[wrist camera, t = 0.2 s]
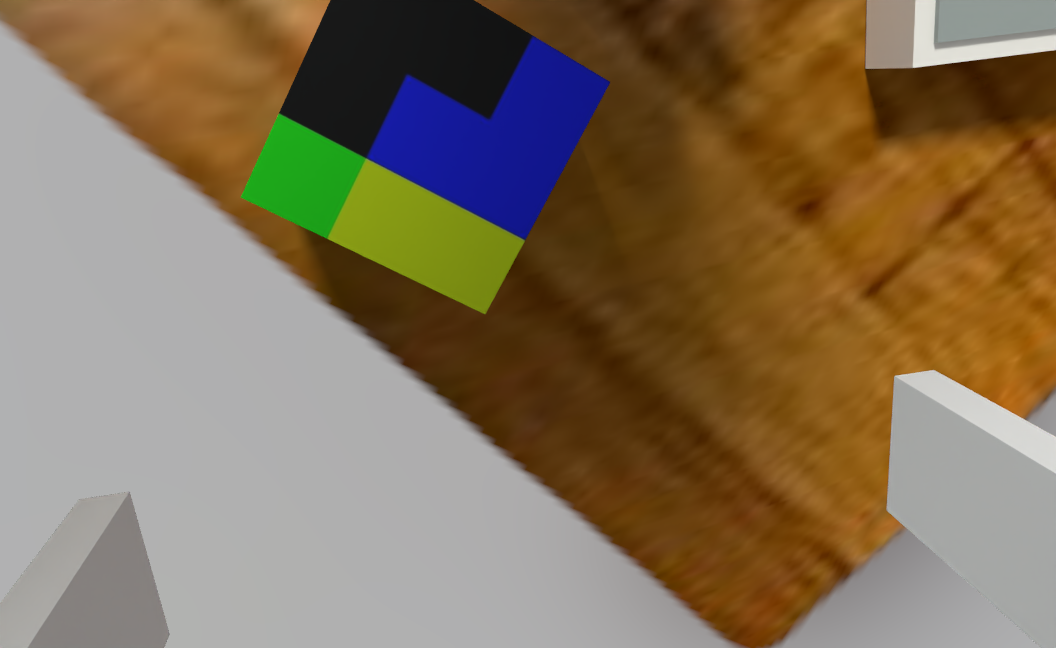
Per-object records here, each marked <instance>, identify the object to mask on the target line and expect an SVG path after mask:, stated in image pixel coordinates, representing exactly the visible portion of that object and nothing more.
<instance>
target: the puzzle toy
mask: <svg viewBox="0 0 1056 648" xmlns="http://www.w3.org/2000/svg"><path fill="white" fill-rule="evenodd" d="M609 84H610V82H609V81H608V80H606V79H604V78H603V77H601V76H599V75H598V74H596V73H594V72H593V71H591V70H589V69H588V68H586V67H584V66H583V65H581V64H579V63H578V62H576V61H574V60H573V59H571V58H569V57H568V56H566V55H564V54H563V53H561V52H559V51H558V50H556V49H554V48H553V47H551V46H549V45H548V44H546V43H544V42H543V41H541V40H539V39H537V38H536V37H534V36H532V35H531V34H529V33H527V32H526V31H524V30H522V29H521V28H519V27H517V26H516V25H514V24H512V23H511V22H509V21H507V20H506V19H504V18H502V17H501V16H499V15H497V14H496V13H494V12H492V11H491V10H489V9H487V8H486V7H484V6H482V5H481V4H479V3H477V2H476V1H474V0H330V3H329V5H328V7H327V9H326V11H325V14H324V16H323V18H322V20H321V22H320V25H319V27H318V29H317V31H316V33H315V36H314V38H313V40H312V42H311V44H310V46H309V49H308V51H307V53H306V55H305V57H304V60H303V62H302V64H301V66H300V68H299V71H298V73H297V75H296V77H295V79H294V82H293V84H292V86H291V88H290V90H289V93H288V95H287V97H286V99H285V101H284V104H283V106H282V108H281V110H280V112H279V115H278V117H277V119H276V121H275V123H274V126H273V128H272V130H271V132H270V134H269V136H268V139H267V141H266V143H265V145H264V147H263V150H262V152H261V154H260V156H259V158H258V161H257V163H256V165H255V167H254V169H253V172H252V174H251V176H250V178H249V180H248V183H247V185H246V187H245V189H244V191H243V194H242V196H241V198H243V199H245V200H247V201H249V202H251V203H253V204H256V205H258V206H260V207H262V208H264V209H266V210H268V211H270V212H272V213H274V214H276V215H279V216H281V217H283V218H285V219H287V220H289V221H291V222H293V223H295V224H297V225H299V226H302V227H304V228H306V229H308V230H310V231H312V232H314V233H316V234H318V235H320V236H322V237H324V238H327V239H329V240H331V241H333V242H335V243H337V244H339V245H341V246H343V247H345V248H347V249H350V250H352V251H354V252H356V253H358V254H360V255H362V256H364V257H366V258H368V259H370V260H372V261H375V262H377V263H379V264H381V265H383V266H385V267H387V268H389V269H391V270H393V271H395V272H398V273H400V274H402V275H404V276H406V277H408V278H410V279H412V280H414V281H416V282H418V283H421V284H423V285H425V286H427V287H429V288H431V289H433V290H435V291H437V292H439V293H441V294H443V295H446V296H448V297H450V298H452V299H454V300H456V301H458V302H460V303H462V304H464V305H466V306H469V307H471V308H473V309H475V310H477V311H479V312H481V313H483V314H486V312H487V310H488V308H489V306H490V305H491V303H492V301H493V299H494V297H495V295H496V293H497V292H498V290H499V288H500V286H501V284H502V282H503V280H504V279H505V277H506V275H507V273H508V271H509V269H510V267H511V266H512V264H513V262H514V260H515V258H516V256H517V254H518V253H519V251H520V249H521V247H522V245H523V243H524V241H525V240H526V238H527V236H528V234H529V232H530V230H531V228H532V227H533V225H534V223H535V221H536V219H537V217H538V215H539V214H540V212H541V210H542V208H543V206H544V204H545V202H546V201H547V199H548V197H549V195H550V193H551V191H552V190H553V188H554V186H555V184H556V182H557V180H558V178H559V177H560V175H561V173H562V171H563V169H564V167H565V165H566V164H567V162H568V160H569V158H570V156H571V154H572V152H573V151H574V149H575V147H576V145H577V143H578V141H579V139H580V138H581V136H582V134H583V132H584V130H585V128H586V126H587V125H588V123H589V121H590V119H591V117H592V115H593V113H594V112H595V110H596V108H597V106H598V104H599V102H600V100H601V99H602V97H603V95H604V93H605V91H606V89H607V87H608V86H609Z"/></svg>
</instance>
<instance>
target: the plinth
mask: <svg viewBox="0 0 1056 648" xmlns="http://www.w3.org/2000/svg"><path fill="white" fill-rule="evenodd" d="M1052 50H1056V0H867V16H866V62H865V69H884V68H916V67H924V66H932V65H940V64H948V63H956V62H964V61H972V60H980V59H988V58H996V57H1004V56H1012V55H1020V54H1028V53H1036V52H1044V51H1052Z"/></svg>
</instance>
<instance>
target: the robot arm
mask: <svg viewBox="0 0 1056 648" xmlns="http://www.w3.org/2000/svg"><path fill="white" fill-rule="evenodd" d="M887 511H888V512H889V513H890V514H891V515H892V516H894V517H895V518H896V519H897V520H898V521H899V522H900V523H901V524H902V525H904V526H905V527H906V528H907V529H908V530H909V531H910V532H911V533H913V534H914V535H915V536H916V537H917V538H918V539H919V540H921V541H922V542H923V543H924V544H925V545H926V546H927V547H928V548H930V549H931V550H932V551H933V552H934V553H935V554H936V555H937V556H938V557H940V558H941V559H942V560H943V561H944V562H945V563H946V564H947V565H949V566H950V567H951V568H952V569H953V570H954V571H955V572H956V573H957V574H959V575H960V576H961V577H962V578H963V579H964V580H965V581H966V582H968V583H969V584H970V585H971V586H972V587H973V588H974V589H976V590H977V591H978V592H979V593H980V594H981V595H982V596H983V597H984V598H986V599H987V600H988V601H989V602H990V603H991V604H992V605H993V606H995V607H996V608H997V609H998V610H999V611H1000V612H1001V613H1002V614H1004V615H1005V616H1006V617H1007V618H1008V619H1009V620H1010V621H1011V622H1013V623H1014V624H1015V625H1016V626H1017V627H1018V628H1019V629H1020V630H1021V631H1023V632H1024V633H1025V634H1026V635H1027V636H1028V637H1029V638H1030V639H1032V640H1033V641H1034V642H1035V643H1036V644H1037V645H1038V646H1039V647H1041V648H1056V437H1055V436H1053V435H1051V434H1050V433H1048V432H1046V431H1044V430H1042V429H1040V428H1039V427H1037V426H1035V425H1033V424H1031V423H1030V422H1028V421H1026V420H1024V419H1022V418H1020V417H1019V416H1017V415H1015V414H1013V413H1011V412H1010V411H1008V410H1006V409H1004V408H1002V407H1000V406H999V405H997V404H995V403H993V402H991V401H989V400H988V399H986V398H984V397H982V396H980V395H979V394H977V393H975V392H973V391H971V390H969V389H968V388H966V387H964V386H962V385H960V384H958V383H957V382H955V381H953V380H951V379H949V378H948V377H946V376H944V375H942V374H940V373H938V372H937V371H935V370H931V371H924V372H918V373H911V374H905V375H898V376H894V393H893V410H892V427H891V444H890V462H889V479H888V496H887ZM168 637H169V630H168V627H167V623H166V620H165V616H164V612H163V609H162V605H161V602H160V598H159V595H158V591H157V588H156V584H155V580H154V577H153V573H152V570H151V566H150V563H149V559H148V556H147V552H146V548H145V545H144V542H143V538H142V534H141V531H140V527H139V524H138V520H137V516H136V513H135V509H134V506H133V502H132V499H131V495H130V492H124V493H118V494H111V495H104V496H99V497H91V498H85V499H79V500H78V501H77V503H76V504H75V505H74V507H73V508H72V509H71V511H70V512H69V513H68V515H67V516H66V517H65V519H64V520H63V521H62V522H61V524H60V525H59V526H58V528H57V529H56V530H55V532H54V533H53V534H52V536H51V537H50V538H49V539H48V541H47V542H46V544H45V545H44V546H43V547H42V549H41V550H40V551H39V553H38V554H37V555H36V557H35V558H34V559H33V561H32V562H31V563H30V565H29V566H28V567H27V568H26V570H25V571H24V572H23V574H22V575H21V576H20V578H19V579H18V580H17V581H16V583H15V584H14V585H13V587H12V588H11V589H10V591H9V592H8V593H7V595H6V596H5V597H4V599H3V600H2V601H1V603H0V648H164V647H165V644H166V642H167V639H168Z"/></svg>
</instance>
